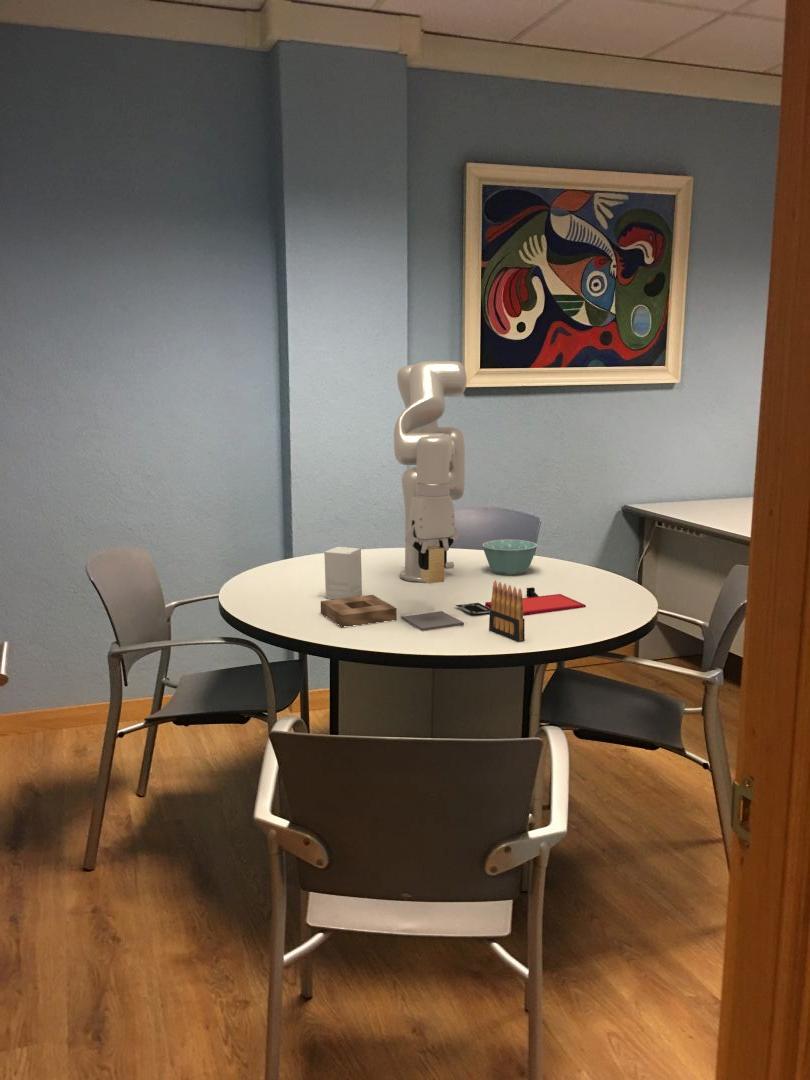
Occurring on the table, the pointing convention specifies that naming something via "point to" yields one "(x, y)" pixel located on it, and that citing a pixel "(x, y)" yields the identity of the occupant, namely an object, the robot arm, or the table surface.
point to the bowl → (509, 555)
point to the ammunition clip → (507, 612)
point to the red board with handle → (531, 604)
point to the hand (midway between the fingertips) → (432, 567)
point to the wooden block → (434, 565)
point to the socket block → (358, 610)
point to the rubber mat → (432, 620)
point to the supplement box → (343, 573)
